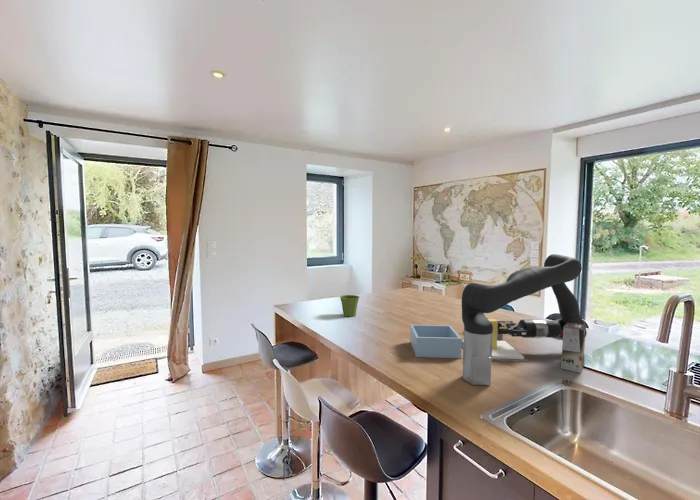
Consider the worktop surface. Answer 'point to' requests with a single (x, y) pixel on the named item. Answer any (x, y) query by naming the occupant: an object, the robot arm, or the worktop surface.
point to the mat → (508, 359)
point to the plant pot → (349, 304)
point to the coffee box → (573, 347)
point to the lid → (502, 346)
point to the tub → (435, 341)
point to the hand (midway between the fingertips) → (494, 328)
